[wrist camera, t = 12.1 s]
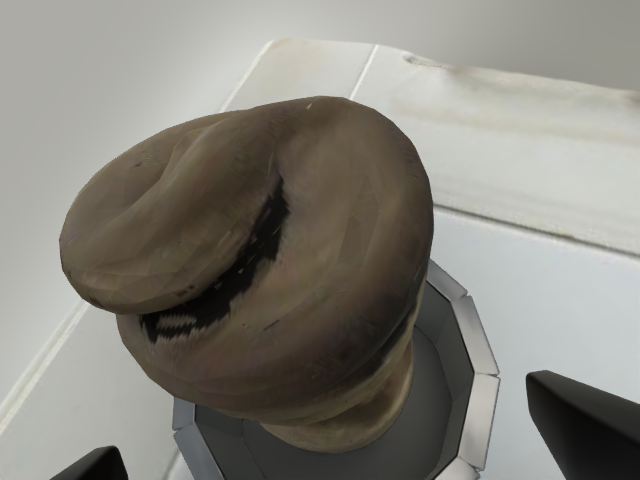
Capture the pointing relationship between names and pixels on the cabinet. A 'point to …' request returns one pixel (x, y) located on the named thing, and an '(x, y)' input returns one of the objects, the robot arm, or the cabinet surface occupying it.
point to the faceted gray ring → (459, 369)
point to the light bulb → (265, 264)
